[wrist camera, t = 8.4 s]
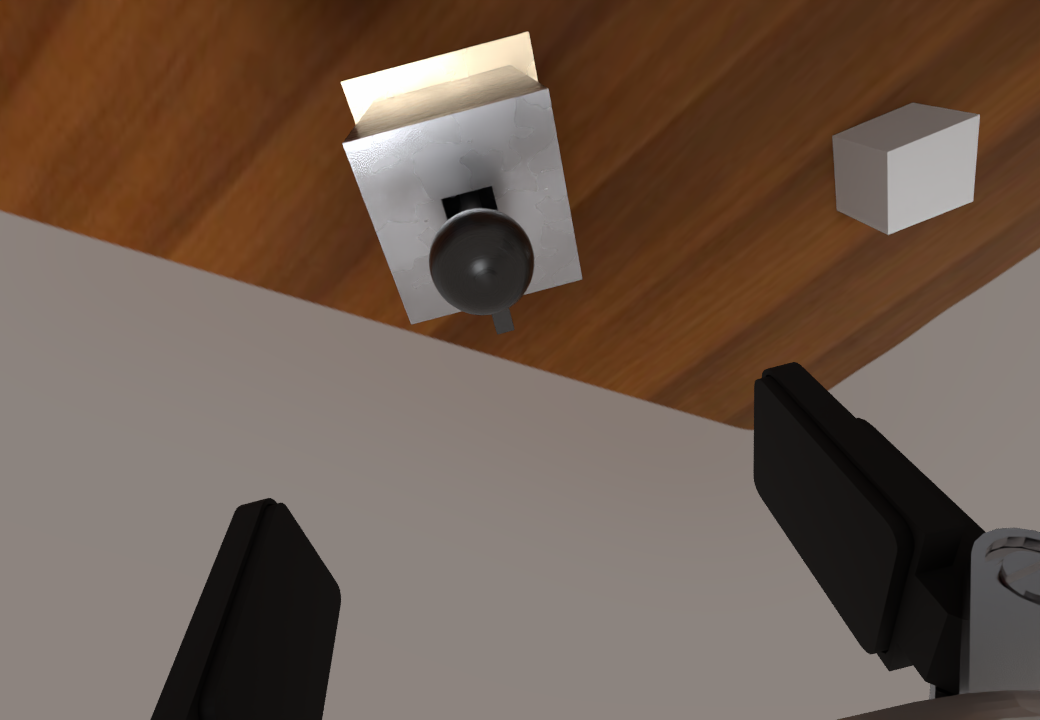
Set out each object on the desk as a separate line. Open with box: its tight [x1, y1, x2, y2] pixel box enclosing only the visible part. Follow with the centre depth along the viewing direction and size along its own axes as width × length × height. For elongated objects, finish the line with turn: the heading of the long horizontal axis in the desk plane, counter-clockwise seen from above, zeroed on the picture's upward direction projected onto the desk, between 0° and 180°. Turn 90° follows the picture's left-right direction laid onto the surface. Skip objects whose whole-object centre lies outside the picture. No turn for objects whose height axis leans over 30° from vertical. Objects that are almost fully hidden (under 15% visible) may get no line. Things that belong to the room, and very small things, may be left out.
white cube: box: [832, 103, 980, 235], centre depth 40 cm, size 6×6×6 cm
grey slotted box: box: [341, 31, 582, 334], centre depth 32 cm, size 12×13×14 cm
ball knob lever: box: [429, 186, 534, 315], centre depth 27 cm, size 6×6×17 cm
